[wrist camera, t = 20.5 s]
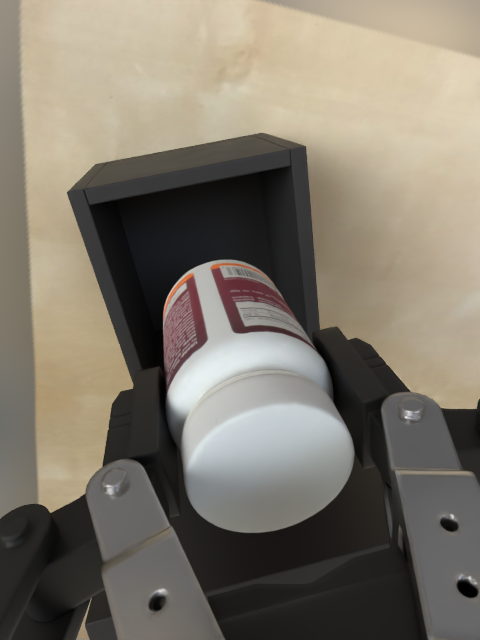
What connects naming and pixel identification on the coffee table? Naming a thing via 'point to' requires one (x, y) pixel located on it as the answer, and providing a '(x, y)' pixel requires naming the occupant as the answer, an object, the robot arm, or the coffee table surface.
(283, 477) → the pill bottle
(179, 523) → the lid
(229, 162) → the dark grey hollow box
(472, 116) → the coffee table surface
